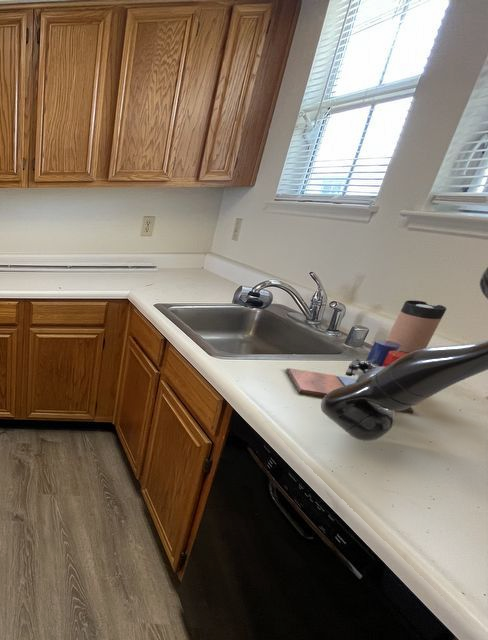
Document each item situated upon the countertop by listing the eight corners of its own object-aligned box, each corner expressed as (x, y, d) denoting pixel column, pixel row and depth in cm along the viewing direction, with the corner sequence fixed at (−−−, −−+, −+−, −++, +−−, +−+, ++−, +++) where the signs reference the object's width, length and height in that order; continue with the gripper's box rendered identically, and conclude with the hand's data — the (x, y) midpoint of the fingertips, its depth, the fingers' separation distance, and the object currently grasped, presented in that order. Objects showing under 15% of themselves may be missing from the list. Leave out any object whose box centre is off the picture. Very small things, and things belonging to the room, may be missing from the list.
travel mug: (378, 381, 108) (415, 307, 99) (364, 369, 115) (398, 298, 106) (414, 386, 106) (455, 310, 97) (398, 373, 113) (435, 302, 104)
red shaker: (389, 395, 99) (411, 352, 94) (398, 404, 95) (421, 360, 90) (364, 391, 101) (385, 349, 96) (372, 400, 97) (394, 357, 92)
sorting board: (385, 386, 106) (387, 382, 105) (412, 413, 94) (414, 409, 93) (285, 370, 113) (287, 367, 112) (298, 393, 101) (300, 389, 101)
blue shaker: (376, 381, 105) (396, 341, 101) (384, 390, 101) (405, 348, 97) (353, 378, 107) (372, 338, 102) (360, 386, 103) (380, 345, 98)
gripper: (433, 385, 80) (447, 365, 89) (344, 360, 90) (364, 344, 99) (414, 418, 84) (429, 395, 93) (330, 391, 93) (351, 372, 103)
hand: (396, 369), depth 96 cm, fingers open, 8 cm apart
